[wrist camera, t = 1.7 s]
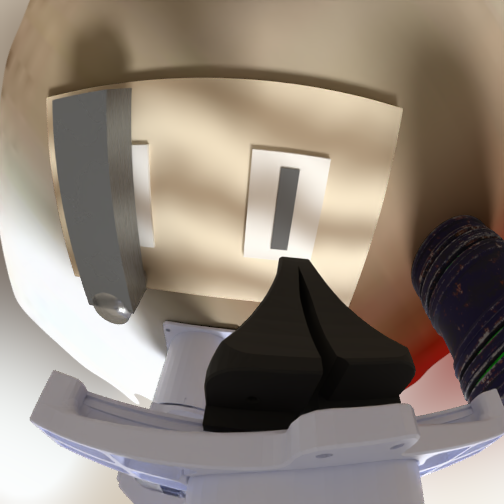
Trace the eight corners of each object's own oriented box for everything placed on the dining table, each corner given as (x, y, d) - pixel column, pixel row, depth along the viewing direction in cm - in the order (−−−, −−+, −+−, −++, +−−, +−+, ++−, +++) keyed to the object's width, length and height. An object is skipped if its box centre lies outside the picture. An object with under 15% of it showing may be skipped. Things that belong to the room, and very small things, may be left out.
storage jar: (444, 197, 18) (566, 326, 6) (502, 232, 19) (588, 334, 7) (391, 292, 24) (447, 439, 11) (455, 307, 25) (509, 419, 12)
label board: (345, 302, 24) (348, 311, 23) (78, 271, 24) (73, 278, 23) (397, 107, 15) (405, 109, 14) (52, 96, 15) (43, 98, 14)
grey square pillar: (154, 293, 23) (137, 328, 20) (114, 286, 23) (94, 319, 20) (140, 87, 15) (106, 89, 11) (90, 94, 15) (52, 100, 11)
